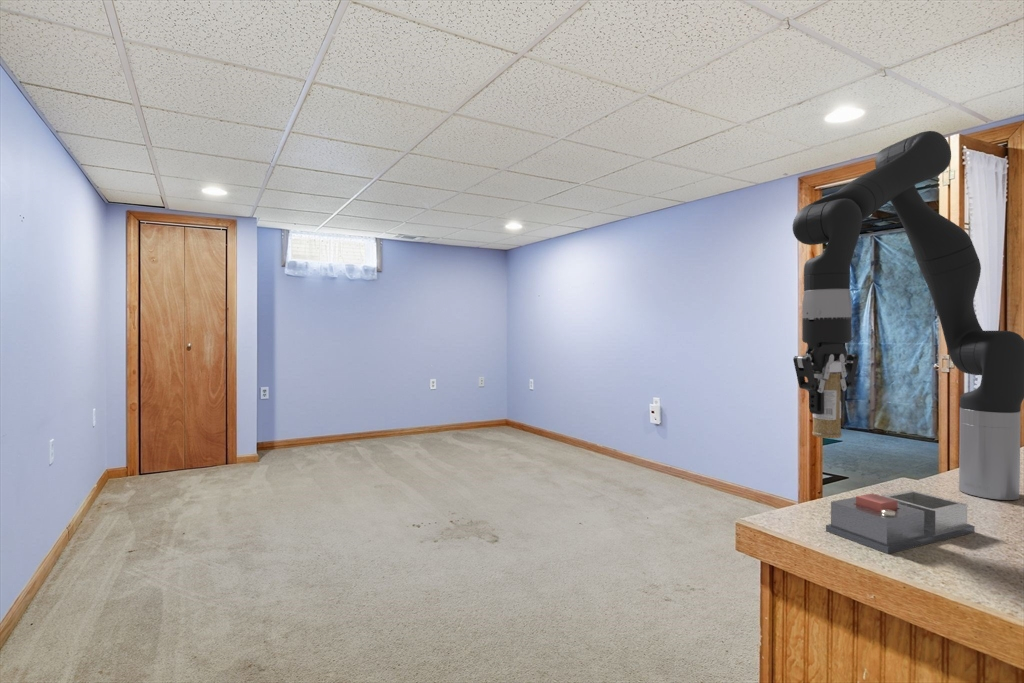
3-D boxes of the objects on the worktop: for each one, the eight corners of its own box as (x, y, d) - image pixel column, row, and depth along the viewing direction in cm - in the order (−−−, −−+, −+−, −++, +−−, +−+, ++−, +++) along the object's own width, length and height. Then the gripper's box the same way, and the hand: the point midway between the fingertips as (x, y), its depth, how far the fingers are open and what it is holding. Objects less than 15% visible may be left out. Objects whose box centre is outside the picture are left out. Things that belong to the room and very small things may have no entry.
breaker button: (871, 523, 89) (872, 493, 89) (897, 531, 85) (897, 500, 85) (855, 526, 87) (855, 496, 87) (880, 535, 84) (881, 503, 84)
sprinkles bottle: (846, 436, 94) (846, 360, 94) (833, 440, 92) (833, 361, 91) (819, 433, 98) (819, 359, 98) (806, 435, 95) (806, 360, 95)
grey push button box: (909, 513, 97) (909, 482, 97) (974, 532, 88) (974, 498, 88) (825, 531, 89) (826, 497, 89) (888, 553, 80) (888, 516, 80)
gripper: (834, 316, 101) (834, 407, 101) (778, 316, 95) (779, 412, 95) (874, 315, 94) (874, 412, 94) (817, 315, 88) (817, 418, 88)
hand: (826, 412), depth 95 cm, fingers closed on sprinkles bottle, 4 cm apart
